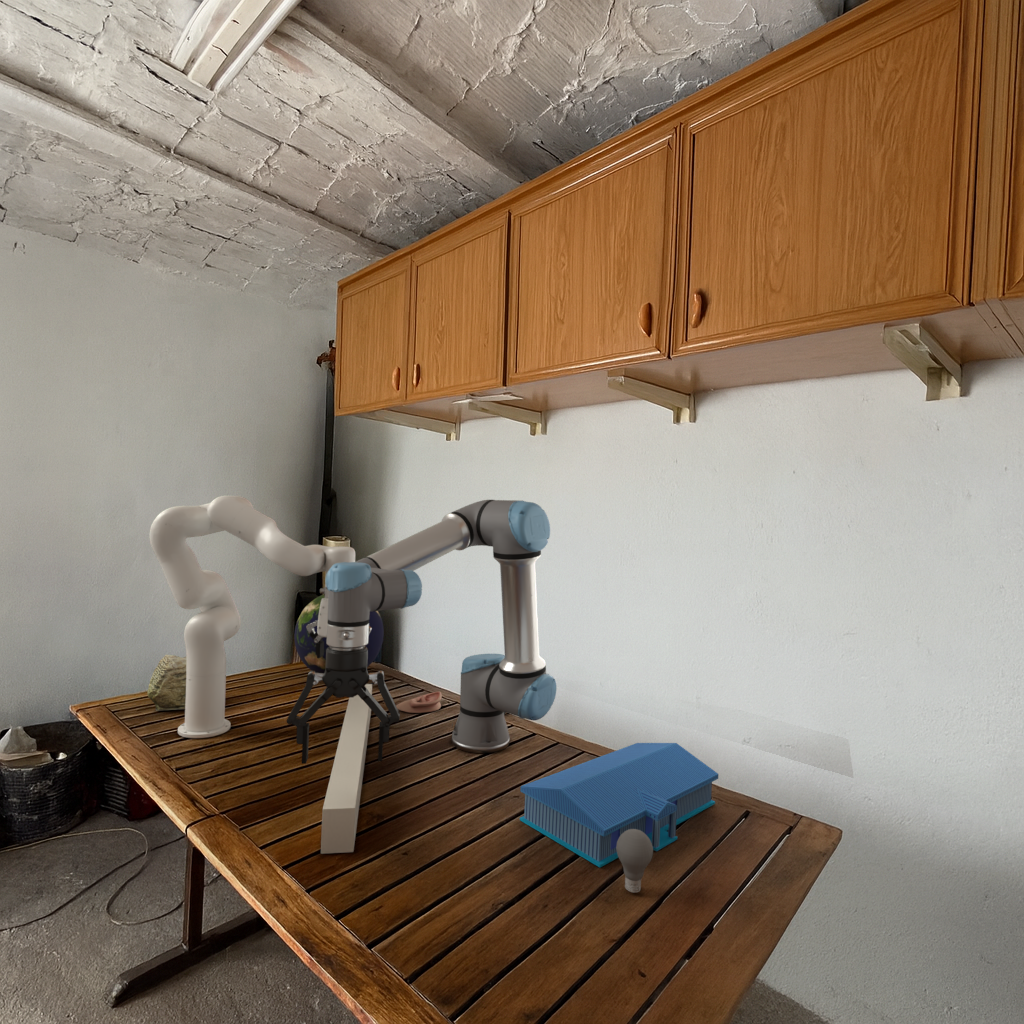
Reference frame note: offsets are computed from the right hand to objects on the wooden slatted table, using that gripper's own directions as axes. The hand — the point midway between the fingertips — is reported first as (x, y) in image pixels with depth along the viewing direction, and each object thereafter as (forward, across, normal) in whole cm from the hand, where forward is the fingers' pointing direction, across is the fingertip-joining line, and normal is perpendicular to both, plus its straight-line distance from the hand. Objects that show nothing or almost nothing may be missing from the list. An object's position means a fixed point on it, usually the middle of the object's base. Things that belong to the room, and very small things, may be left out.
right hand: (342, 759), depth 118 cm
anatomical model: (+15, +17, +73) cm, 76 cm away
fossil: (+15, -51, +77) cm, 94 cm away
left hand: (-6, -6, +52) cm, 52 cm away
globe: (+15, -10, +106) cm, 107 cm away
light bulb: (+15, +49, -22) cm, 56 cm away
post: (+15, 0, +33) cm, 36 cm away
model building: (+15, +58, +3) cm, 60 cm away
